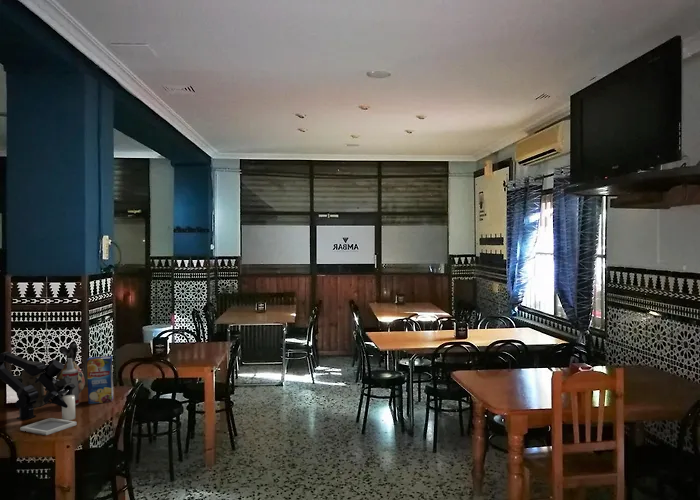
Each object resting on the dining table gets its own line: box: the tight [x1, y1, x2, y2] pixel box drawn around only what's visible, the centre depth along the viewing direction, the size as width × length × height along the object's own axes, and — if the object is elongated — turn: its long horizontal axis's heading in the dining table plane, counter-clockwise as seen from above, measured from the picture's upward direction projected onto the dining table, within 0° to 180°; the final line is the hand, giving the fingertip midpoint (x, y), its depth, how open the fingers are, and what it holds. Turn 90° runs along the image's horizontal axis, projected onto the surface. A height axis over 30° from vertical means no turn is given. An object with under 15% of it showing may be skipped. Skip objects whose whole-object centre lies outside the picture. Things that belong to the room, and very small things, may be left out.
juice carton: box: [86, 355, 114, 405], centre depth 325 cm, size 12×8×24 cm, turn 105°
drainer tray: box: [19, 417, 77, 436], centre depth 279 cm, size 18×16×2 cm
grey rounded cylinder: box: [61, 395, 76, 421], centre depth 293 cm, size 6×6×11 cm
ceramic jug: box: [55, 343, 86, 397], centre depth 335 cm, size 17×15×30 cm
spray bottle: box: [62, 358, 80, 406], centre depth 319 cm, size 8×8×25 cm
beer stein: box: [21, 369, 49, 409], centre depth 319 cm, size 15×11×20 cm
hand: (71, 405), depth 293 cm, fingers closed on grey rounded cylinder, 6 cm apart
